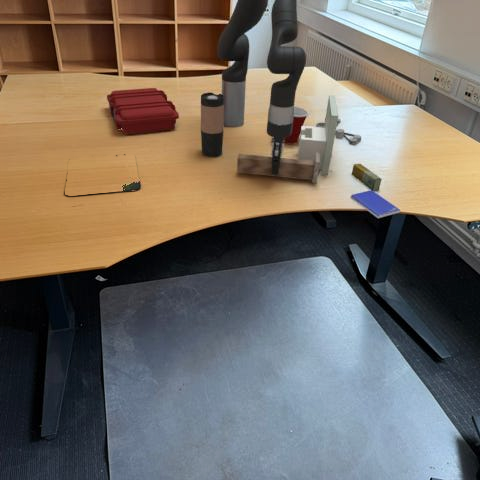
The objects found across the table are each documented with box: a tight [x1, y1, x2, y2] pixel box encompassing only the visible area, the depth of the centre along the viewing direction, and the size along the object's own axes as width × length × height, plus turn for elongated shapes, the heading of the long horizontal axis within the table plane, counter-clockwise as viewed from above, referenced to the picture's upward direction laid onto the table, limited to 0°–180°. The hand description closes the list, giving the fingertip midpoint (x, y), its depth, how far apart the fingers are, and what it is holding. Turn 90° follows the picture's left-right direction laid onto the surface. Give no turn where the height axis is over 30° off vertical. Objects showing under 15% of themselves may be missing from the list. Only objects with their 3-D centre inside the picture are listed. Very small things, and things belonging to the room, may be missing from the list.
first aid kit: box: [106, 87, 180, 135], centre depth 175 cm, size 32×23×9 cm
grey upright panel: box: [297, 94, 339, 176], centre depth 146 cm, size 10×20×20 cm, turn 173°
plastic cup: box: [283, 105, 310, 145], centre depth 162 cm, size 11×11×12 cm
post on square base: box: [236, 153, 320, 184], centre depth 138 cm, size 25×7×7 cm, turn 83°
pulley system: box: [315, 118, 362, 145], centre depth 174 cm, size 27×5×15 cm
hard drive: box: [350, 189, 401, 219], centre depth 129 cm, size 2×8×12 cm
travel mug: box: [200, 91, 225, 158], centre depth 148 cm, size 8×8×20 cm
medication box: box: [351, 163, 383, 192], centre depth 140 cm, size 12×3×4 cm, turn 22°
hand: (275, 171), depth 140 cm, fingers closed on post on square base, 3 cm apart
